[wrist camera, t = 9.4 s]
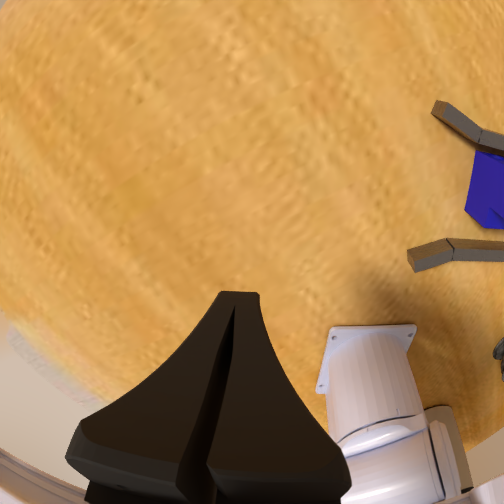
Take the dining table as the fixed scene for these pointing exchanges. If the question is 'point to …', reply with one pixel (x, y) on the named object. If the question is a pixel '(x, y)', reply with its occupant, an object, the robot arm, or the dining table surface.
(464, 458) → the travel mug
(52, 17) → the dining table surface
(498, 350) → the salt shaker
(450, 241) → the rail
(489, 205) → the blue cradle block
